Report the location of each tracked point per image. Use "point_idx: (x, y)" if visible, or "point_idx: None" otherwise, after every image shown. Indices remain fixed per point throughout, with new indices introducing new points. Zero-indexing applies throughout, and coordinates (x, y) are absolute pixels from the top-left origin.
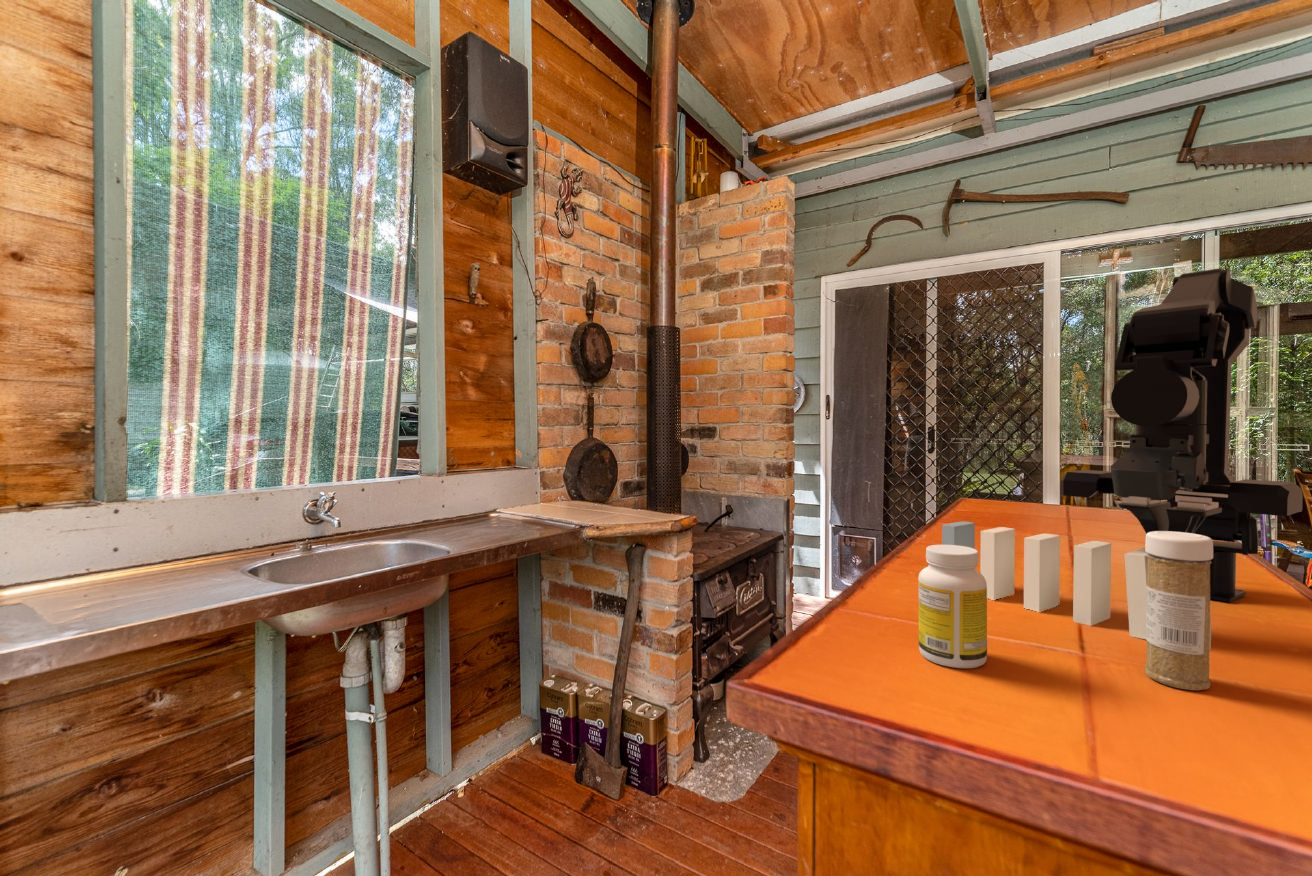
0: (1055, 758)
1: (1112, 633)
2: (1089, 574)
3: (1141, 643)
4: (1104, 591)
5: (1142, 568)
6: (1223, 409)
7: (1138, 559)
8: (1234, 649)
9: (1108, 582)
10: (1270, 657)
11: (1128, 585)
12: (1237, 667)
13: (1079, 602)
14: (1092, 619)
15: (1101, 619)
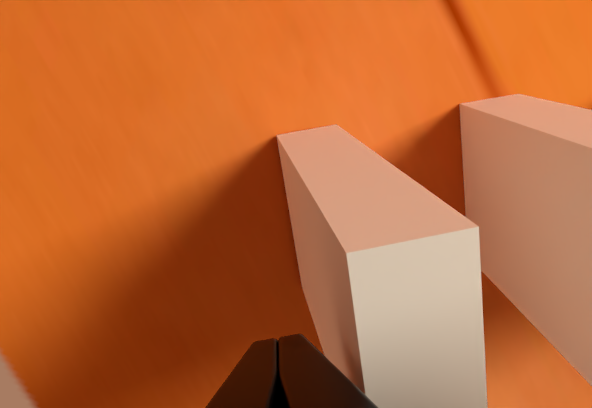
0: None
1: (379, 96)
2: (585, 142)
3: (276, 84)
4: (516, 251)
5: (341, 215)
6: None
7: (378, 233)
8: (129, 300)
9: (535, 304)
10: (52, 321)
11: (386, 168)
12: (25, 139)
13: (539, 106)
14: (468, 120)
15: (467, 191)
